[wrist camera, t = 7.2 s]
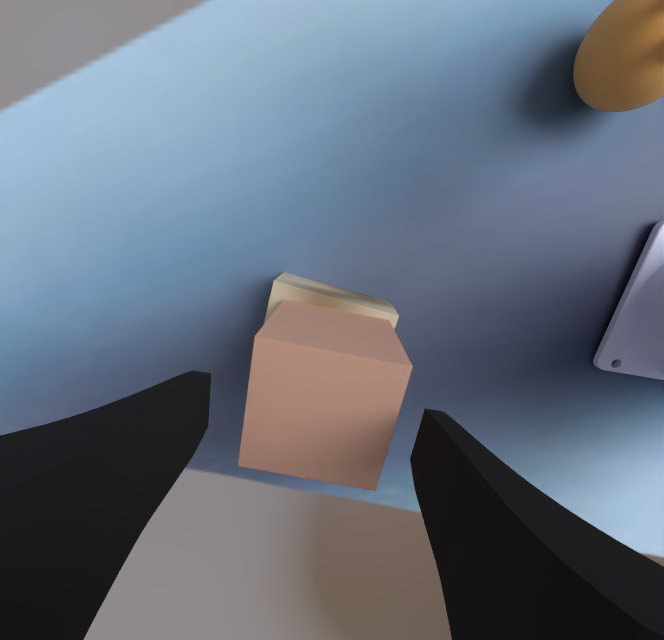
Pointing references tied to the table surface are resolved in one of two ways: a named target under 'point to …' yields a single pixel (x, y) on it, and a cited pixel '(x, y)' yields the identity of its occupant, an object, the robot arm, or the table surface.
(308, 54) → the table surface
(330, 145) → the table surface
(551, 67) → the table surface
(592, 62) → the figurine
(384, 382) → the terracotta cube
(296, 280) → the birch base block
